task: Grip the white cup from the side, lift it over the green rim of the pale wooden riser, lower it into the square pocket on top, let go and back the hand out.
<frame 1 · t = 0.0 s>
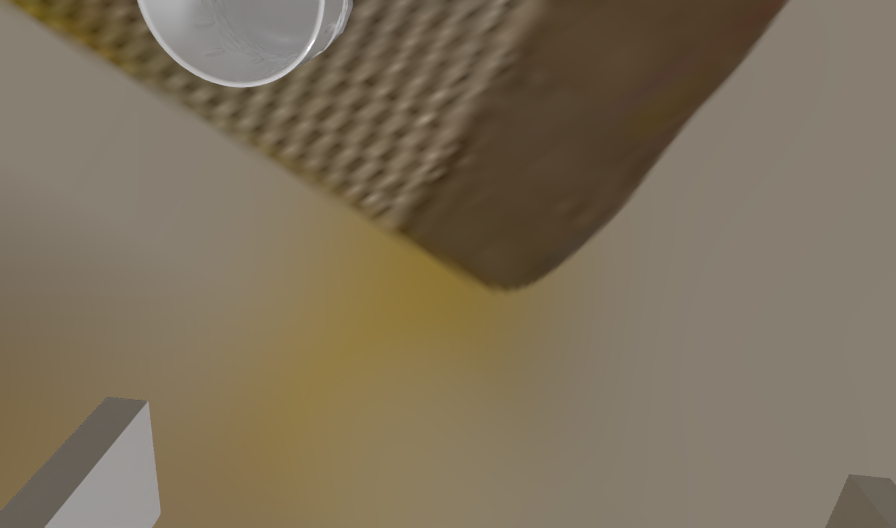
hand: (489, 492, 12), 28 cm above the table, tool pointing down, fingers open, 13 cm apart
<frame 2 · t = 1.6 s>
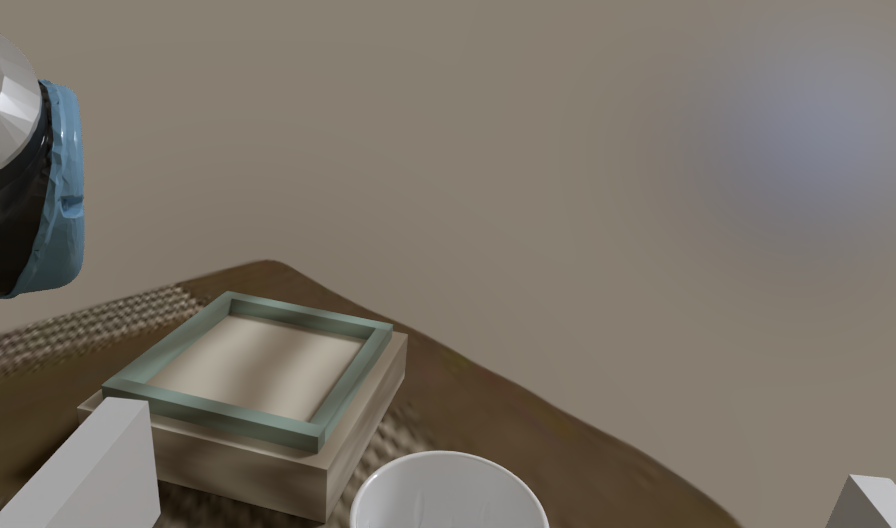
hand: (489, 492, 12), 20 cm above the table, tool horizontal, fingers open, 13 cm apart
riser: (265, 413, 45), on the table
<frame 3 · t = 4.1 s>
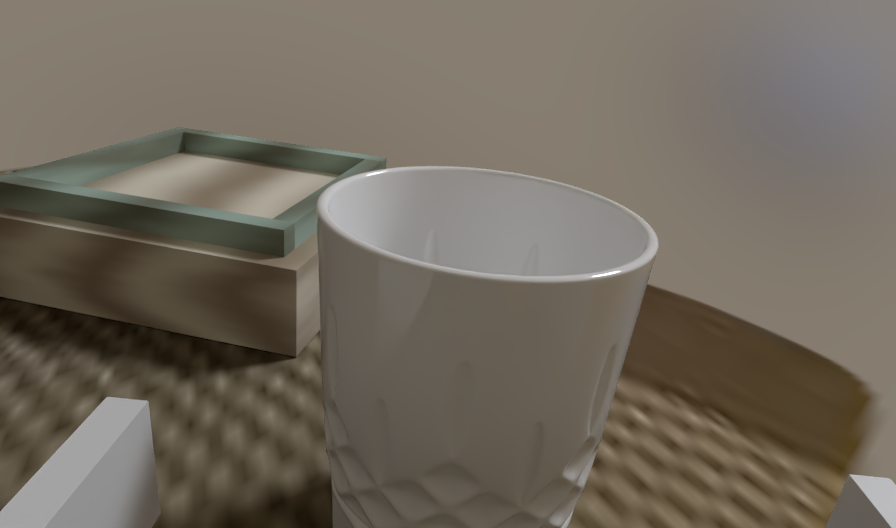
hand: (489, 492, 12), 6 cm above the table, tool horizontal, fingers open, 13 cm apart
riser: (223, 257, 35), on the table
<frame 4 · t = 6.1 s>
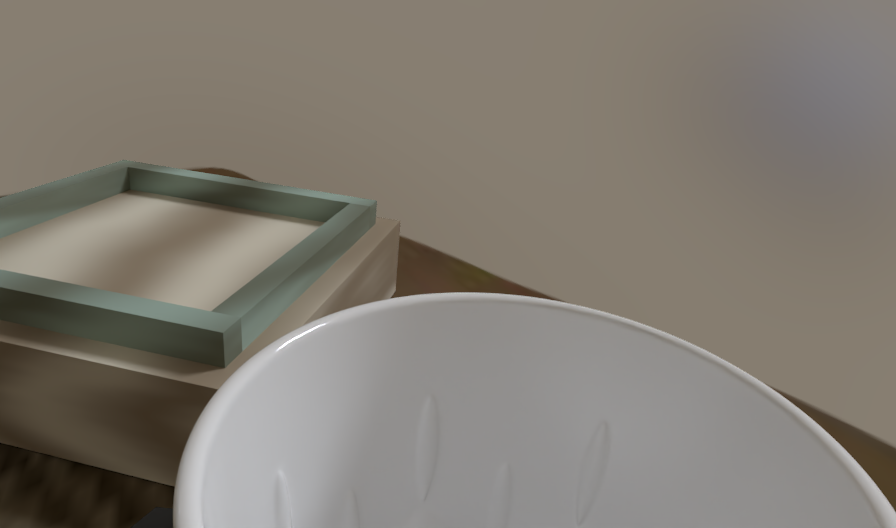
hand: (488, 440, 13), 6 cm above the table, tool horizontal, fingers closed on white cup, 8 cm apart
riser: (169, 332, 27), on the table
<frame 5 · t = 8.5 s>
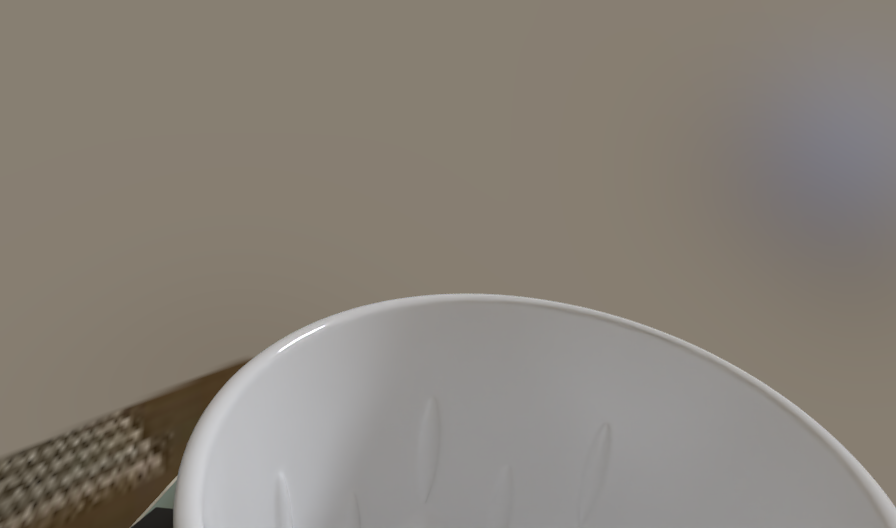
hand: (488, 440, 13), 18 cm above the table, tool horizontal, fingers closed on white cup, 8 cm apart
when the fingers open (12 cm above the table, at t = 11.1 s): white cup drops 2 cm, resting on riser.
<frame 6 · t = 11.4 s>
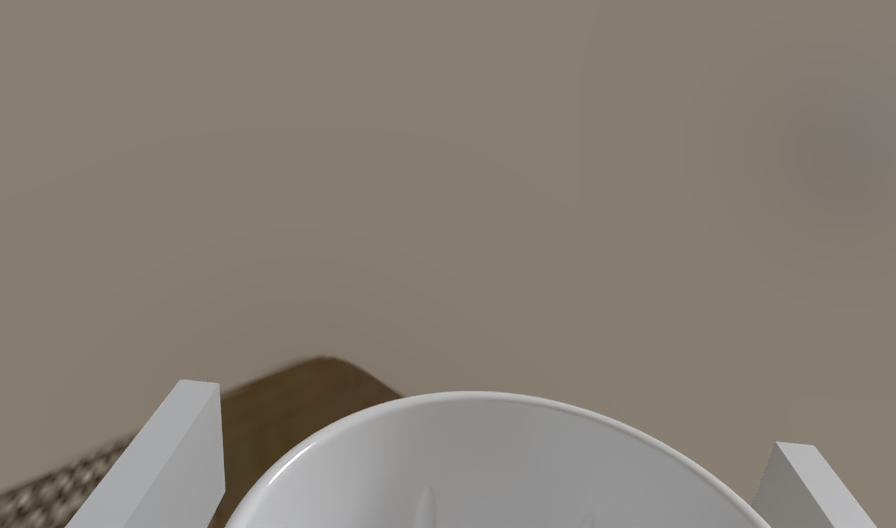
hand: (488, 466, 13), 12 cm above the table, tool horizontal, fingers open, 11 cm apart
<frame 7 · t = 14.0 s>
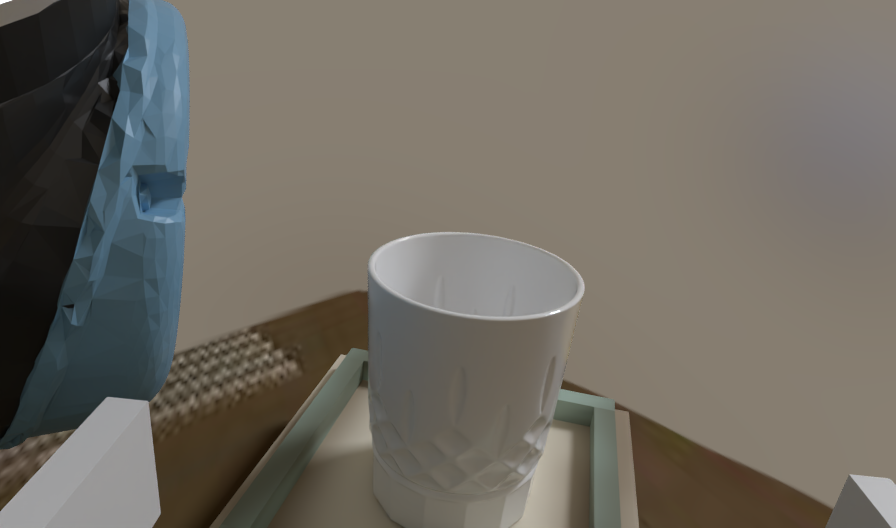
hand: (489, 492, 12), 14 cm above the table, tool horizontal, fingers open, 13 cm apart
white cup: (450, 486, 27), point 4 cm above the table, touching riser
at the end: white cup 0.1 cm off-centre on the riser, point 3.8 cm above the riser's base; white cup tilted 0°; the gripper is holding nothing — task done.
